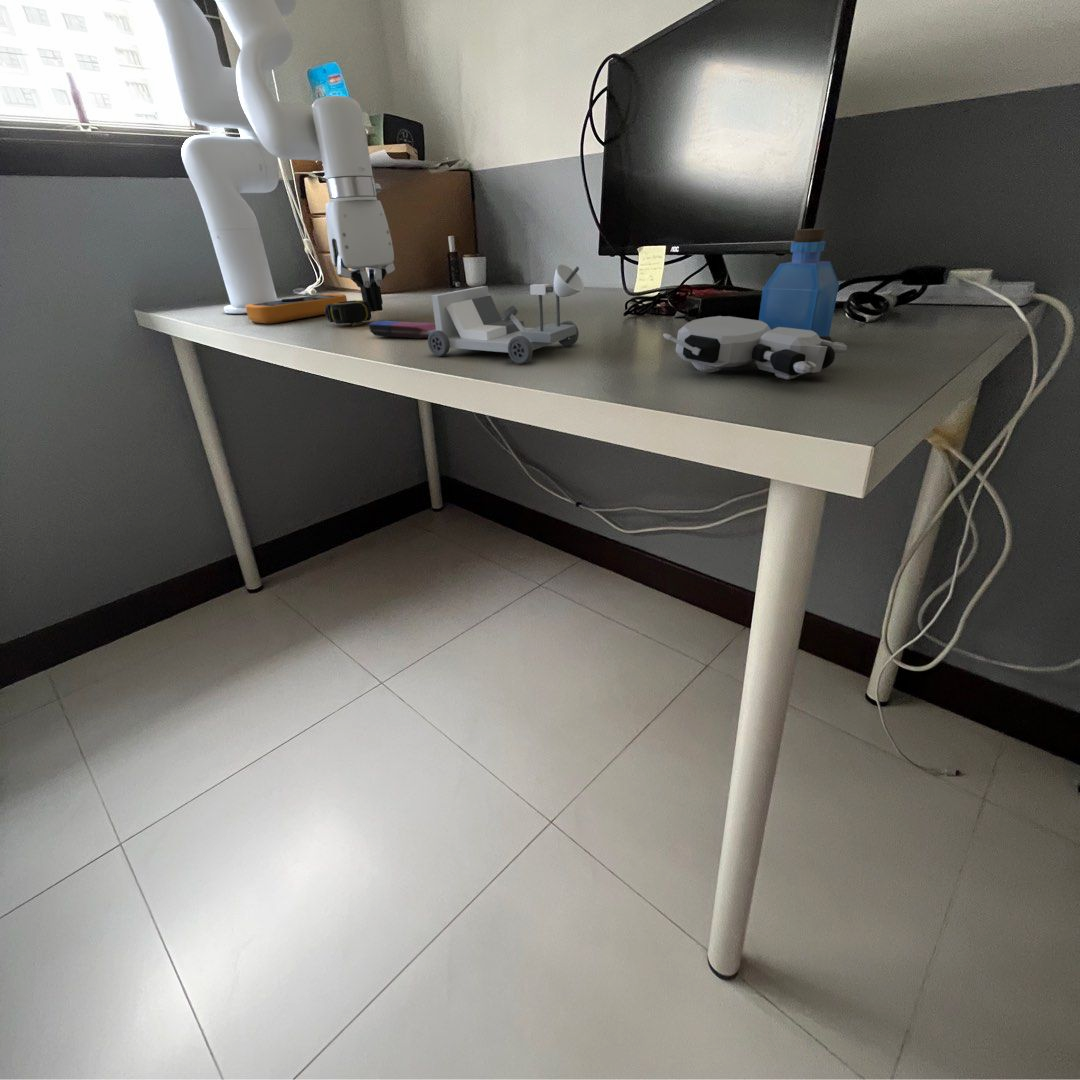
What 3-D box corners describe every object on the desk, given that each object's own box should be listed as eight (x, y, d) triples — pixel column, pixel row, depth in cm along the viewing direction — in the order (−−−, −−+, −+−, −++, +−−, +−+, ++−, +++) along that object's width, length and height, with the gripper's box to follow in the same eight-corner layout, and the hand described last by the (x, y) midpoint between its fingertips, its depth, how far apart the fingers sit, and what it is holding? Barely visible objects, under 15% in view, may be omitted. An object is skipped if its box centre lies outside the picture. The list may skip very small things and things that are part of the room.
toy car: (597, 260, 67) (545, 270, 59) (597, 347, 72) (549, 366, 63) (477, 262, 76) (417, 270, 67) (484, 339, 81) (429, 355, 72)
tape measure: (365, 320, 103) (360, 298, 101) (379, 324, 98) (375, 300, 96) (327, 325, 100) (322, 302, 98) (340, 329, 95) (335, 305, 93)
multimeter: (245, 322, 108) (239, 303, 106) (328, 309, 120) (324, 292, 118) (267, 325, 103) (262, 305, 101) (351, 311, 115) (348, 293, 113)
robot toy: (844, 375, 57) (707, 350, 66) (858, 328, 55) (714, 308, 63) (803, 405, 50) (653, 372, 58) (817, 351, 47) (658, 325, 55)
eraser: (445, 334, 86) (443, 322, 85) (430, 339, 82) (429, 326, 82) (383, 331, 90) (381, 319, 89) (367, 335, 86) (365, 323, 85)
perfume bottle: (755, 343, 69) (770, 231, 63) (778, 335, 73) (794, 228, 67) (806, 349, 65) (828, 229, 59) (828, 340, 69) (850, 227, 63)
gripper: (379, 193, 101) (398, 304, 109) (298, 194, 92) (326, 315, 100) (403, 189, 96) (420, 306, 105) (320, 190, 87) (347, 317, 96)
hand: (374, 310), depth 102 cm, fingers closed
